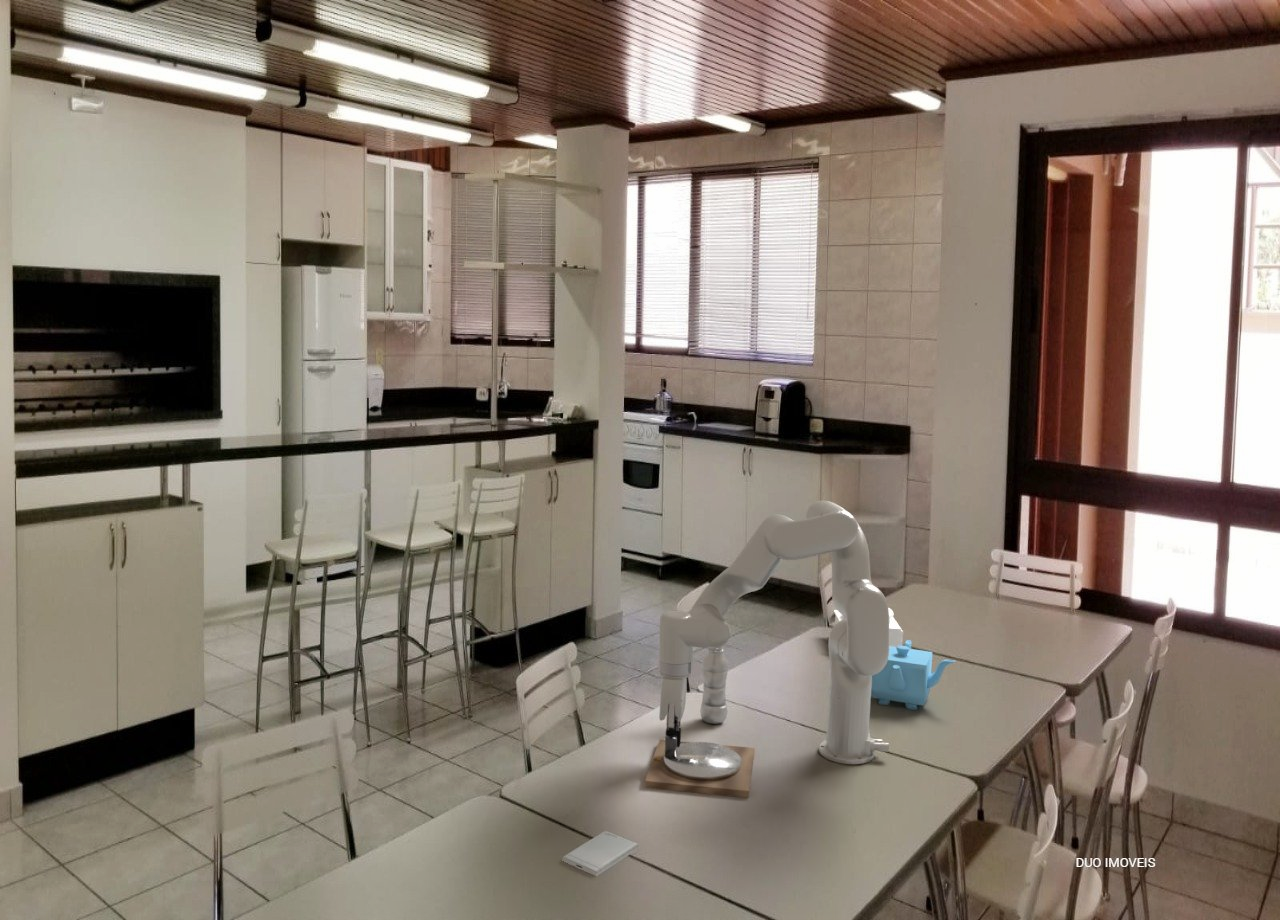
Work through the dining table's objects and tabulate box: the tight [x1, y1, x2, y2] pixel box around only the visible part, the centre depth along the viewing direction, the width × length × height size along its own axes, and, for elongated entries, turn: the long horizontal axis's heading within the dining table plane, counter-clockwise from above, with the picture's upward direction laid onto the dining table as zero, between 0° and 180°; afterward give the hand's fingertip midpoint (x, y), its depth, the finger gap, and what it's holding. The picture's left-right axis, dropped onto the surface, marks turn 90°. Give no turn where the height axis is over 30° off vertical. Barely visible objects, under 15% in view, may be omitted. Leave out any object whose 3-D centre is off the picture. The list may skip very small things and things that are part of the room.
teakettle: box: [871, 639, 957, 711], centre depth 275 cm, size 19×19×15 cm
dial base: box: [644, 739, 755, 799], centre depth 231 cm, size 22×22×2 cm
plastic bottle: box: [699, 645, 729, 725], centre depth 257 cm, size 6×7×20 cm
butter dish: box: [833, 607, 904, 647], centre depth 319 cm, size 18×18×16 cm
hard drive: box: [561, 830, 639, 877], centre depth 195 cm, size 2×8×12 cm
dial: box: [664, 735, 741, 780], centre depth 231 cm, size 17×17×6 cm
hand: (673, 745), depth 235 cm, fingers closed
